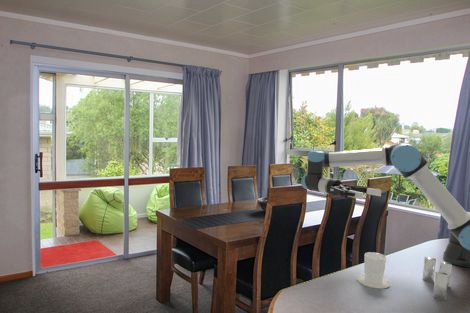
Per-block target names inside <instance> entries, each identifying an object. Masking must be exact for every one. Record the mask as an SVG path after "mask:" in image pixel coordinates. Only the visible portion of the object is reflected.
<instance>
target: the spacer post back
mask: <svg viewBox="0 0 470 313" xmlns="http://www.w3.org/2000/svg"><path fill="white" fill-rule="evenodd" d="M452 267H453V264H452V263H449V262H447V261H445V260H444V261H443V260H441V261H439V269H438V272H443V273H446V274H448V281H447V289H449V288H450V284H451V277H452Z"/></svg>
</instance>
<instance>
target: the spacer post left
mask: <svg viewBox="0 0 470 313" xmlns="http://www.w3.org/2000/svg"><path fill="white" fill-rule="evenodd" d="M436 259H437V258H435V257H432V256H424V259H423V260H424V262H423V271H422V280H423V281H425V282H426V283H427V282H428V283H434V282H435V272H436V270H435V269H436V261H437V260H436Z"/></svg>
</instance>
